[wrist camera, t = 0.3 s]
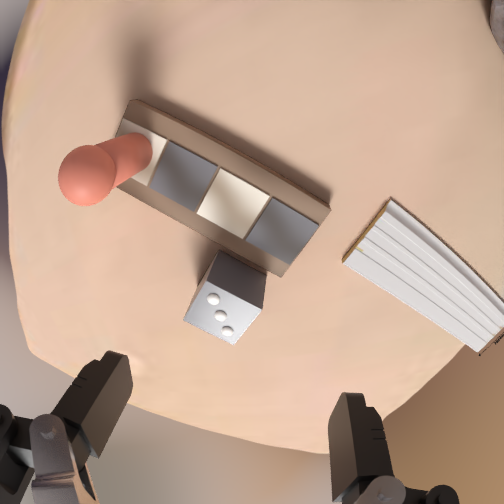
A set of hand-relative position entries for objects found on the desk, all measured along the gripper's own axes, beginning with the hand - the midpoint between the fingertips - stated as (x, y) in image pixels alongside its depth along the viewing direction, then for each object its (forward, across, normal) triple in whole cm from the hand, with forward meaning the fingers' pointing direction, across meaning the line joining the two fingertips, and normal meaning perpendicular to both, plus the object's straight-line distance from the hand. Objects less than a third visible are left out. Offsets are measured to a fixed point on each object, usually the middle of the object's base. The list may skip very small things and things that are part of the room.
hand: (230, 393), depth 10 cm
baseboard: (+24, -24, +5) cm, 35 cm away
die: (+24, +3, +8) cm, 25 cm away
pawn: (+20, +14, -6) cm, 25 cm away
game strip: (+22, +6, -3) cm, 23 cm away
